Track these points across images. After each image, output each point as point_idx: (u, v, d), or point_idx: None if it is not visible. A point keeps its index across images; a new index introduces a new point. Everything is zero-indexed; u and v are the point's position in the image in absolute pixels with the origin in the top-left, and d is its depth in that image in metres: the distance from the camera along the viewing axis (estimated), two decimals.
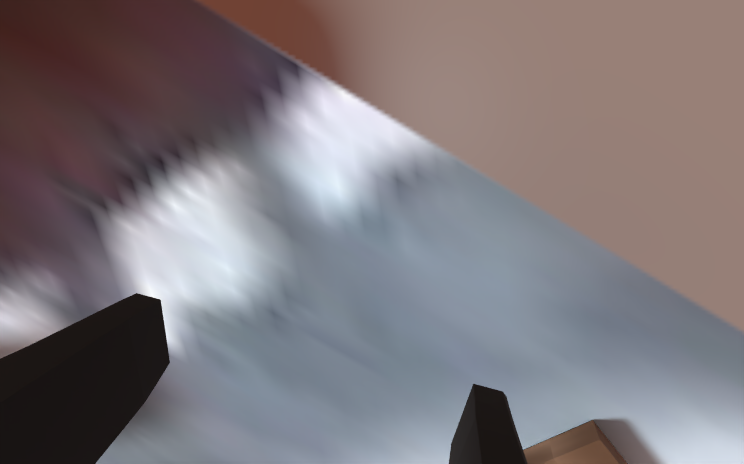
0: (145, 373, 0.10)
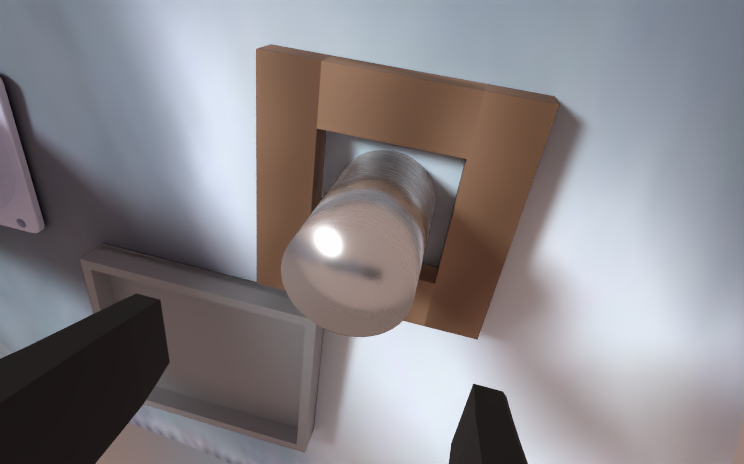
0: (145, 373, 0.10)
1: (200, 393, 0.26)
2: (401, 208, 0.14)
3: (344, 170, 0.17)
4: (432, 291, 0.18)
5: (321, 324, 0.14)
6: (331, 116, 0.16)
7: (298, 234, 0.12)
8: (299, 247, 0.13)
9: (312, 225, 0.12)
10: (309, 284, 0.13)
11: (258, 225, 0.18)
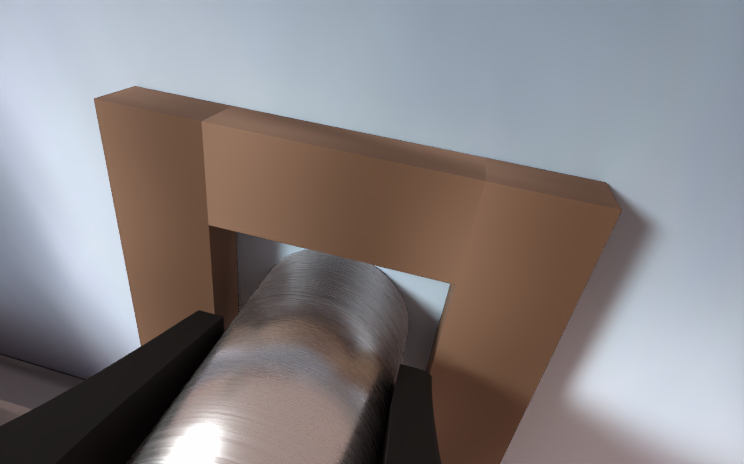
0: None
1: None
2: (332, 402, 0.07)
3: (262, 283, 0.11)
4: None
5: None
6: (229, 209, 0.09)
7: None
8: None
9: None
10: None
11: None
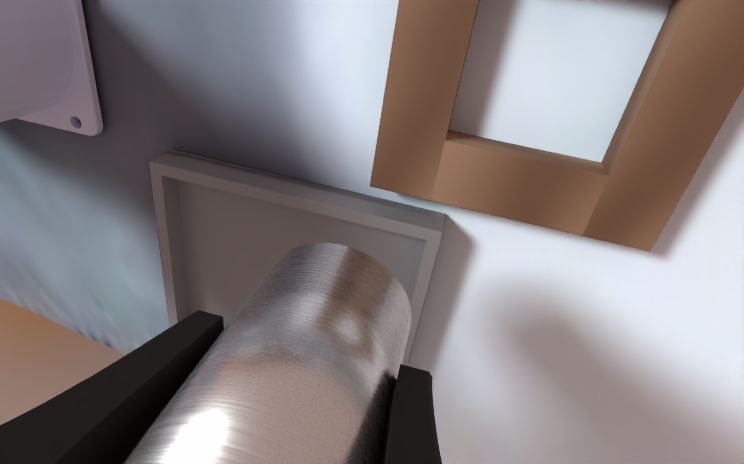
0: None
1: None
2: (340, 396, 0.07)
3: (267, 274, 0.11)
4: (603, 187, 0.15)
5: None
6: None
7: None
8: None
9: None
10: None
11: (385, 104, 0.15)
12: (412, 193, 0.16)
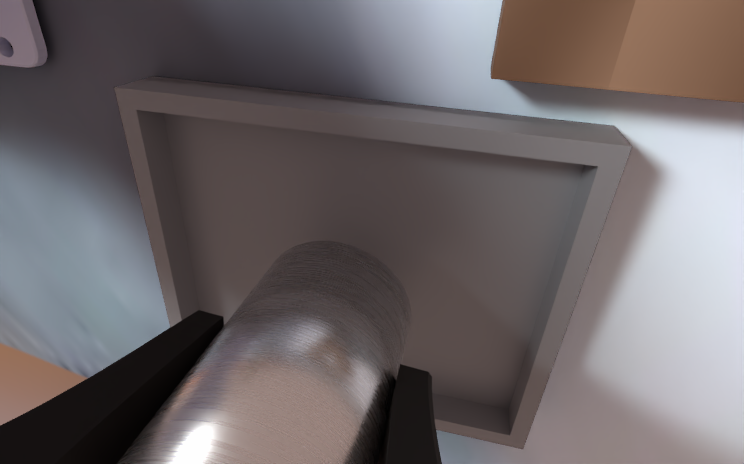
0: None
1: None
2: (343, 397, 0.07)
3: (269, 270, 0.10)
4: None
5: None
6: None
7: None
8: None
9: (146, 461, 0.06)
10: None
11: None
12: (572, 79, 0.09)
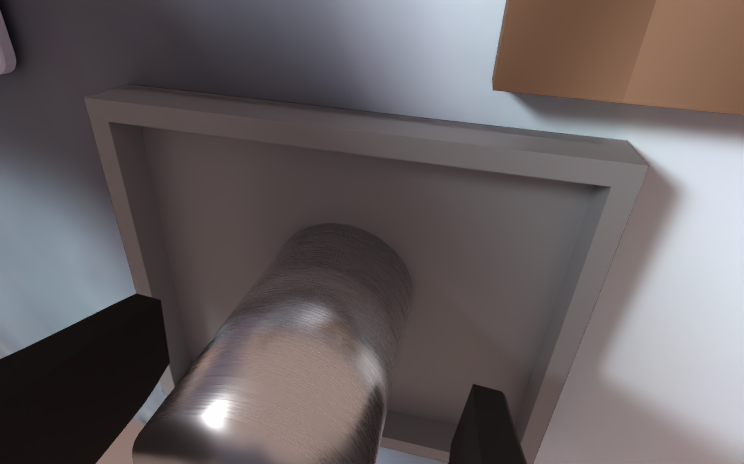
0: (145, 373, 0.10)
1: None
2: (354, 359, 0.08)
3: (281, 251, 0.11)
4: None
5: None
6: None
7: (157, 420, 0.07)
8: (160, 438, 0.07)
9: (183, 409, 0.07)
10: None
11: None
12: (583, 91, 0.08)
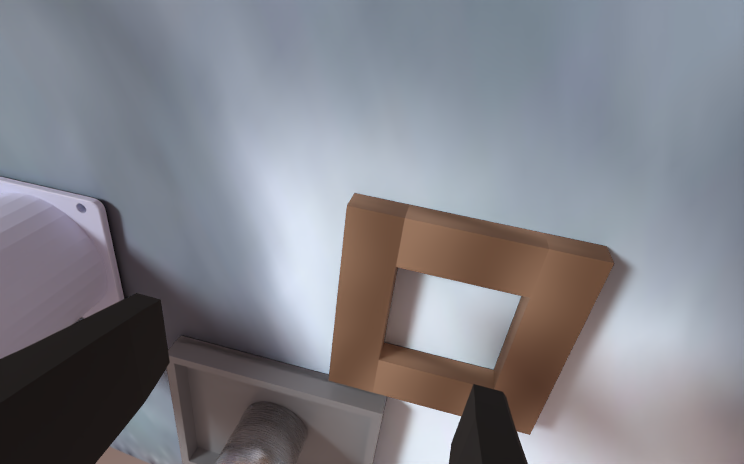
0: (145, 373, 0.10)
1: None
2: None
3: (246, 416, 0.25)
4: None
5: None
6: (409, 259, 0.18)
7: None
8: None
9: None
10: None
11: (334, 336, 0.21)
12: (359, 387, 0.22)
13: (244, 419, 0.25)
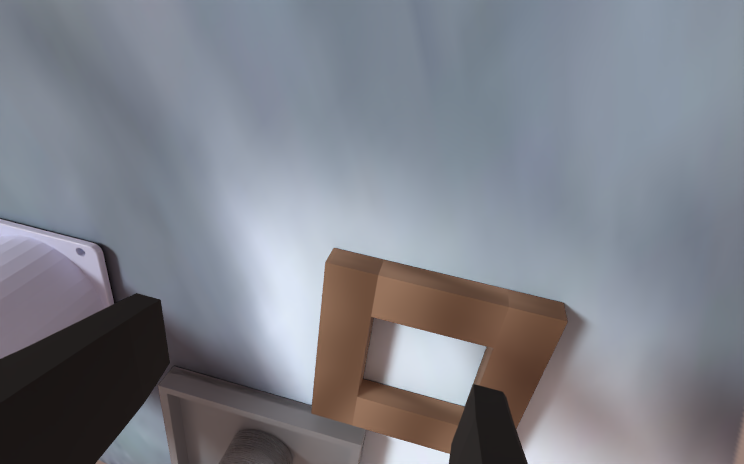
0: (145, 373, 0.10)
1: None
2: None
3: (235, 442, 0.26)
4: None
5: None
6: (383, 310, 0.19)
7: None
8: None
9: None
10: None
11: (316, 374, 0.22)
12: (339, 420, 0.24)
13: (233, 446, 0.26)
